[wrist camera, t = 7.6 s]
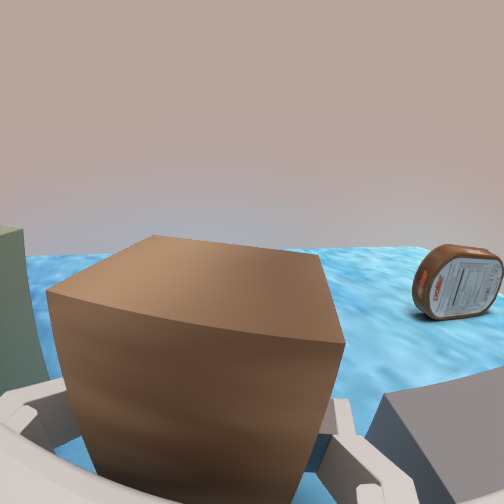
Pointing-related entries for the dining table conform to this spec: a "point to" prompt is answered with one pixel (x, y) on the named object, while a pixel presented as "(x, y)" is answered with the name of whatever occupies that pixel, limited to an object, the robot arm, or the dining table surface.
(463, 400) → the base block
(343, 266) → the dining table surface
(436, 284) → the tin
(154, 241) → the walnut block
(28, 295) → the olive block
